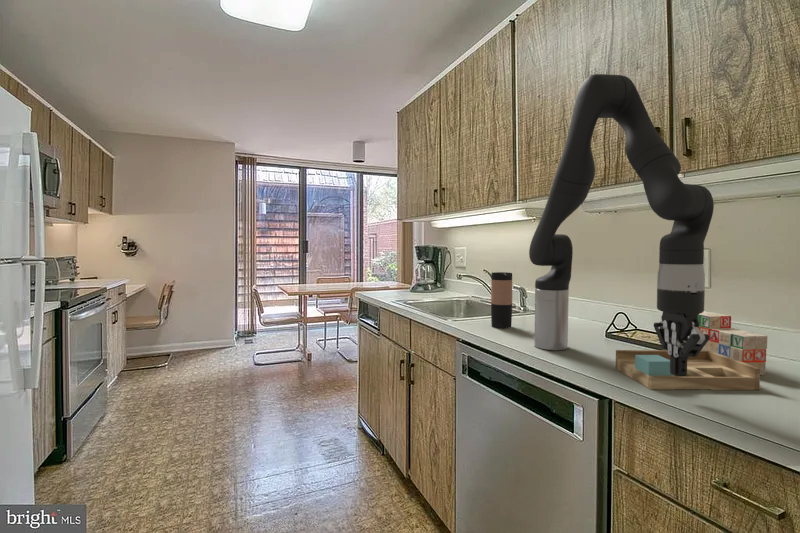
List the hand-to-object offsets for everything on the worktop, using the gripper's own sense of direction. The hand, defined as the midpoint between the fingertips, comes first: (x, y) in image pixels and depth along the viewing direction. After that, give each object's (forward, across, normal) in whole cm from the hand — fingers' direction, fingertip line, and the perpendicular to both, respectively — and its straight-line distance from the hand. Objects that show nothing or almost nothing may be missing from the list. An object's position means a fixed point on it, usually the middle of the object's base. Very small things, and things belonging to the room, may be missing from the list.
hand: (678, 375), depth 76 cm
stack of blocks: (+5, -24, +25) cm, 35 cm away
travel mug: (+4, -68, -19) cm, 70 cm away
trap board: (+4, -11, +8) cm, 14 cm away
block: (+2, -8, 0) cm, 8 cm away
